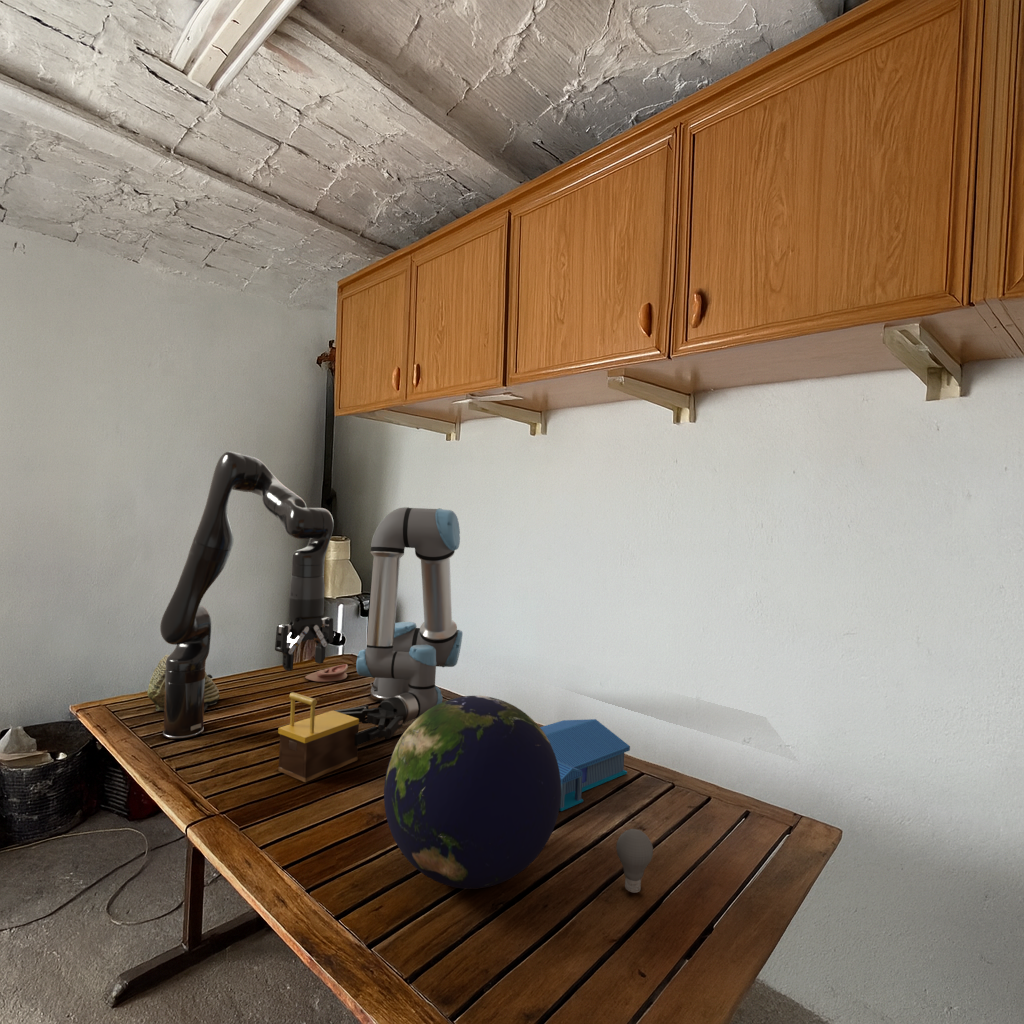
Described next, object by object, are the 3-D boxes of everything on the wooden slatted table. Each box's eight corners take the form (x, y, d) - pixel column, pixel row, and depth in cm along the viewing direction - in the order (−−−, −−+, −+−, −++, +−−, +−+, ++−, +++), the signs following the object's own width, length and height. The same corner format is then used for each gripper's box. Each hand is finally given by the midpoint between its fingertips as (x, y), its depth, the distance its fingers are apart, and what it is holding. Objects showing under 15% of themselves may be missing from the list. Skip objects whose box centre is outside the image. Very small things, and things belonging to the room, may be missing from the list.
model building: (516, 830, 123) (519, 779, 123) (442, 785, 141) (444, 740, 141) (638, 777, 150) (640, 735, 149) (562, 745, 168) (564, 707, 167)
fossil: (144, 707, 182) (145, 655, 182) (212, 696, 194) (213, 647, 194) (151, 716, 175) (153, 662, 175) (221, 703, 188) (223, 653, 188)
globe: (343, 899, 100) (350, 710, 100) (435, 815, 128) (441, 667, 127) (518, 958, 89) (528, 746, 88) (578, 852, 117) (585, 690, 116)
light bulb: (610, 879, 108) (613, 822, 108) (644, 879, 109) (647, 822, 109) (619, 902, 102) (622, 840, 102) (655, 901, 103) (658, 840, 103)
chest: (305, 782, 140) (306, 743, 140) (278, 770, 145) (279, 733, 145) (357, 760, 153) (358, 724, 153) (331, 750, 158) (332, 715, 158)
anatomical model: (300, 668, 215) (317, 660, 226) (300, 679, 215) (317, 671, 226) (336, 672, 212) (352, 663, 224) (336, 683, 212) (351, 675, 224)
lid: (305, 743, 140) (306, 703, 139) (278, 733, 145) (279, 694, 144) (358, 723, 153) (360, 687, 153) (332, 715, 158) (333, 679, 158)
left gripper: (291, 600, 136) (288, 676, 136) (342, 594, 148) (339, 663, 148) (269, 596, 140) (266, 669, 140) (320, 590, 152) (318, 657, 152)
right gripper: (432, 735, 164) (372, 761, 146) (363, 714, 177) (301, 736, 160) (433, 706, 164) (373, 729, 146) (364, 687, 177) (302, 706, 160)
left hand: (304, 666), depth 144 cm, fingers open, 8 cm apart
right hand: (335, 733), depth 153 cm, fingers open, 13 cm apart
